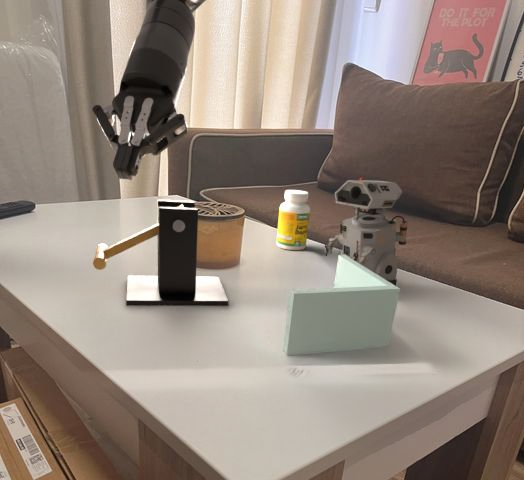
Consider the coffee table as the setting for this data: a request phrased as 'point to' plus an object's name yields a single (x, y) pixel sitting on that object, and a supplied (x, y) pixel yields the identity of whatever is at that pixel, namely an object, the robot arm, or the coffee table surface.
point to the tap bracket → (176, 264)
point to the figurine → (370, 226)
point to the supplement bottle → (293, 220)
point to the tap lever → (123, 245)
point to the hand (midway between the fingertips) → (123, 175)
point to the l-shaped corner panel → (341, 312)
